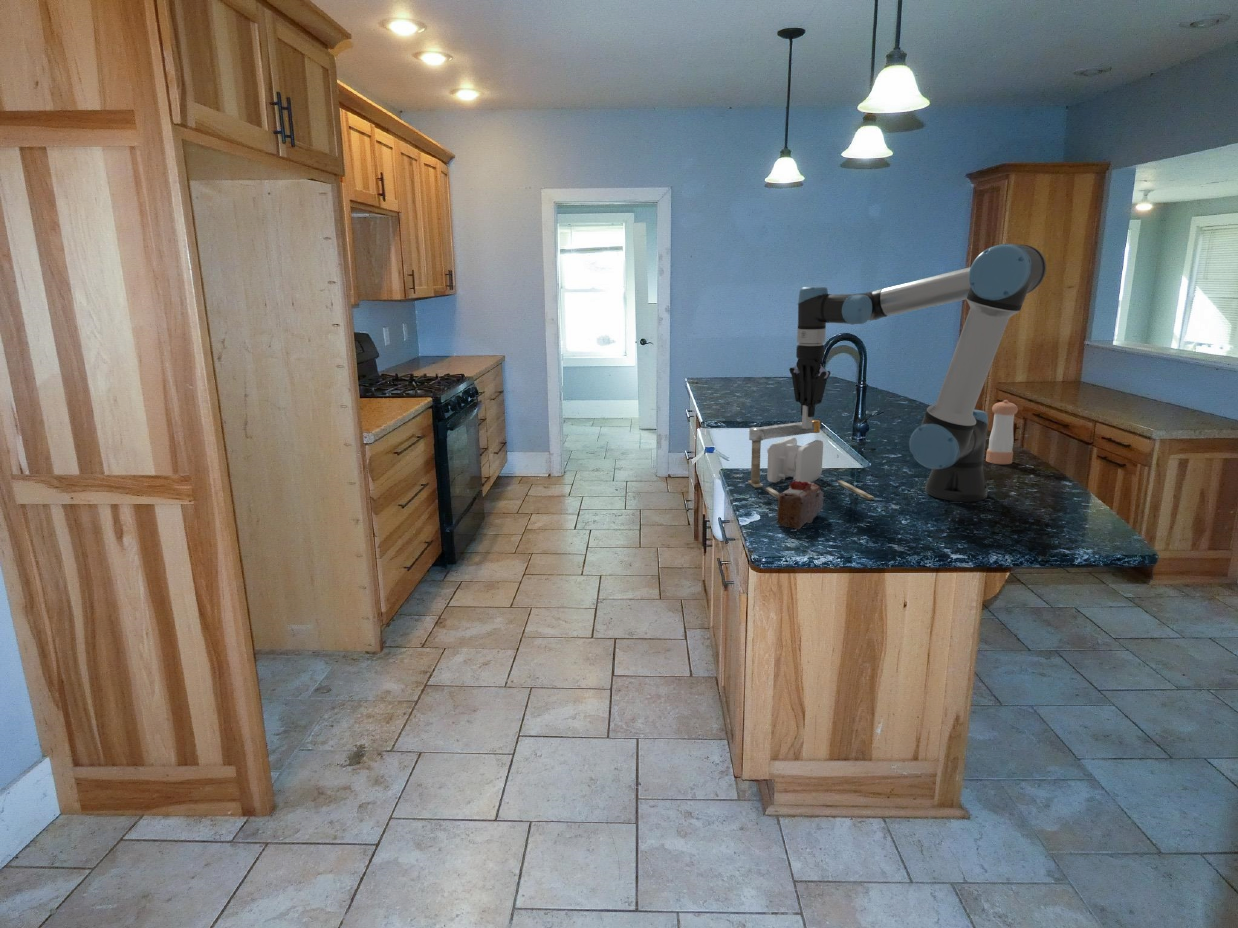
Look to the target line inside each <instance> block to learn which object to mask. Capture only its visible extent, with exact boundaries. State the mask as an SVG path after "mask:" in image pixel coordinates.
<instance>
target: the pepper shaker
mask: <svg viewBox="0 0 1238 928" xmlns="http://www.w3.org/2000/svg"><path fill="white" fill-rule="evenodd" d="M991 410H992V413H994V415H993V423H992V427H991V428H992V429H991V432H990V435H989V440H988V447H987V449H986V454H985V455H986V457H985V461H986V462H988V463H991V464H993V465H994V464H995V465H1011V464H1013V456H1014V450H1013V447H1014V440H1015V439H1014V422H1015V415H1016V414H1017V413H1018V411H1019V408H1018V406H1017V405H1016V404H1015V403H1013V402H1010V401H1009V400H1008V399H1004V400H1002V401H999V402H996V403H994V404H993V405H992V407H991Z"/></svg>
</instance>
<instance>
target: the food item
mask: <svg viewBox="0 0 1238 928" xmlns="http://www.w3.org/2000/svg"><path fill="white" fill-rule="evenodd" d="M824 494H825V493H824V491H822V490H821V487H820V486H819V485H818V484H815V483H814V482H800V481H799V482H798V481H796V480H795V481H794V480H792V482H791V483H789V486H788V489H786V490H784V491H783V492H781V493H780V494H779V498H778V499H777V500H778V502H777V504H778V505H777V514H776V515H777V517H776V518H777V520H776V524H777V525H778V526H781V527H785V528H792V529H796V530H800V529H801V528H802V527H803V526H804V525H805V524H811V523H813V521H814V519H815V518H816V517H817V515H818V514H819V512H821V510H822V509H823V507H824V506H823V505H824V504H823V503H824Z"/></svg>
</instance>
